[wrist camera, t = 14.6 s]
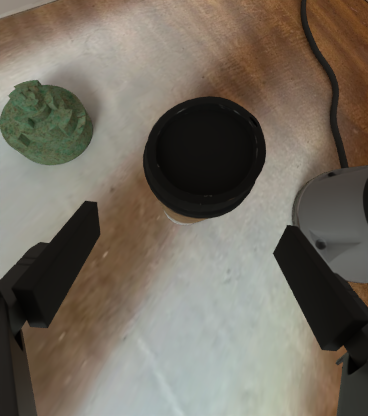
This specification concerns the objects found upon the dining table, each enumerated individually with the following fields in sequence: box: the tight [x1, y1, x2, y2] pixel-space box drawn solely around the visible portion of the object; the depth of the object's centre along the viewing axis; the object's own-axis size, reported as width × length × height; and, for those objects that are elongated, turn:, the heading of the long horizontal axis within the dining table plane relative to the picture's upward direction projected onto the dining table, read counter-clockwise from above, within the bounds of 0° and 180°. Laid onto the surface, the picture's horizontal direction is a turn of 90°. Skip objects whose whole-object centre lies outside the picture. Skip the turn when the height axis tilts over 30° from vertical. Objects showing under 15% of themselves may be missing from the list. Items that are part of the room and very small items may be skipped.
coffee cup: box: [143, 96, 266, 225], centre depth 20 cm, size 8×8×15 cm
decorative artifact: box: [0, 80, 92, 165], centre depth 24 cm, size 10×7×10 cm
